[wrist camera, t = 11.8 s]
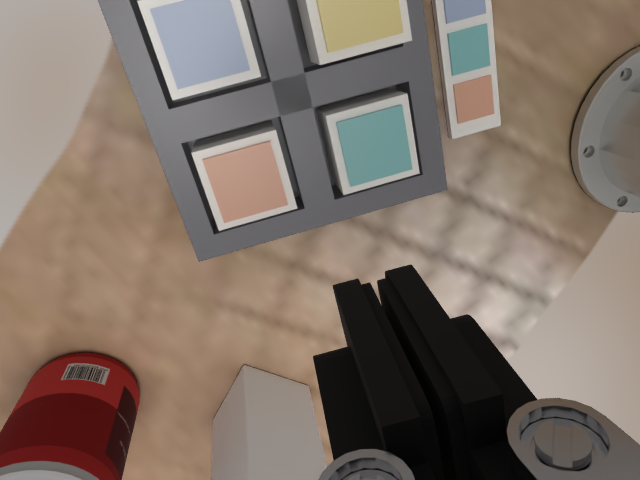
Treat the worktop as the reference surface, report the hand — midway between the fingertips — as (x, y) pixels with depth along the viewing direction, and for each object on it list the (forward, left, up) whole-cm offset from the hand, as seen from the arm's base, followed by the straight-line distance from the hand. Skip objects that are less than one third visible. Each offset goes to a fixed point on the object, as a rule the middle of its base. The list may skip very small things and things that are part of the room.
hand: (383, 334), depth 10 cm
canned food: (+19, +15, -24) cm, 35 cm away
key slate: (+3, -6, -23) cm, 24 cm away
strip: (-13, -2, -24) cm, 27 cm away
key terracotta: (+3, +2, -23) cm, 24 cm away
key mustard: (-5, -6, -21) cm, 23 cm away
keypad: (-1, -2, -24) cm, 24 cm away
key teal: (-5, +2, -23) cm, 24 cm away
